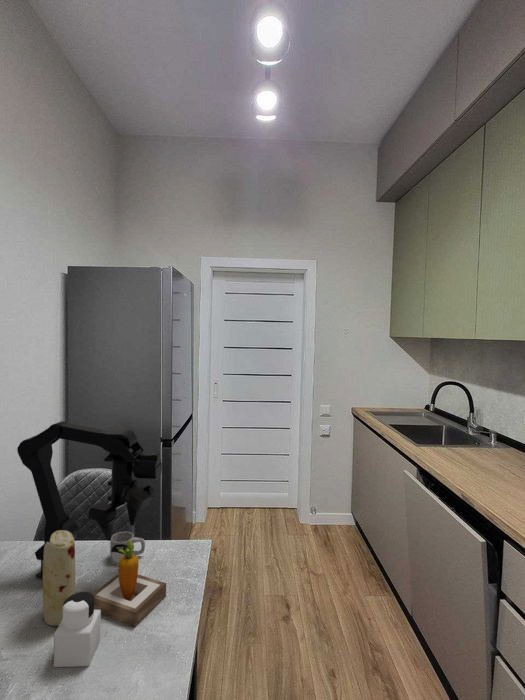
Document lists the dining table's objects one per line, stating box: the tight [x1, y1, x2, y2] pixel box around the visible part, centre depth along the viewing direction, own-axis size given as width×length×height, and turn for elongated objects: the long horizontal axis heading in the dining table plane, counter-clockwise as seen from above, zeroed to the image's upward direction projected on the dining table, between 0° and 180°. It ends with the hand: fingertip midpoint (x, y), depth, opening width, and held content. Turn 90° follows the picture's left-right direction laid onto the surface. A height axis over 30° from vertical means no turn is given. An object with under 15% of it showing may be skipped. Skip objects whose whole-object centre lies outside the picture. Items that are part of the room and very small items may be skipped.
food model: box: [42, 530, 76, 627], centre depth 93 cm, size 10×7×20 cm
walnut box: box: [91, 573, 167, 628], centre depth 99 cm, size 14×12×4 cm
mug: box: [109, 531, 146, 566], centre depth 119 cm, size 10×7×7 cm
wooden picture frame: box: [96, 577, 160, 608], centre depth 99 cm, size 12×10×3 cm
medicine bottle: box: [53, 591, 102, 668], centre depth 83 cm, size 7×7×12 cm
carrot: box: [117, 540, 139, 601], centre depth 99 cm, size 5×5×15 cm
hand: (121, 532), depth 109 cm, fingers open, 9 cm apart
